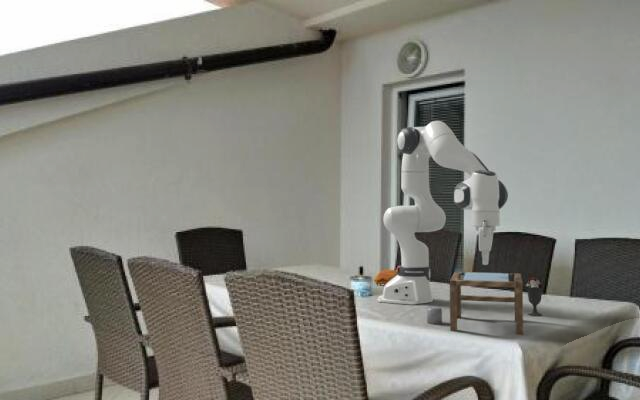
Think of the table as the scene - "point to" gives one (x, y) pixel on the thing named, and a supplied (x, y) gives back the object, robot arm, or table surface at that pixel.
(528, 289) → the sundae
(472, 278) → the trapdoor
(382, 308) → the table surface
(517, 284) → the stand
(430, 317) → the gray cylinder
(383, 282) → the croissant
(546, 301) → the table surface
